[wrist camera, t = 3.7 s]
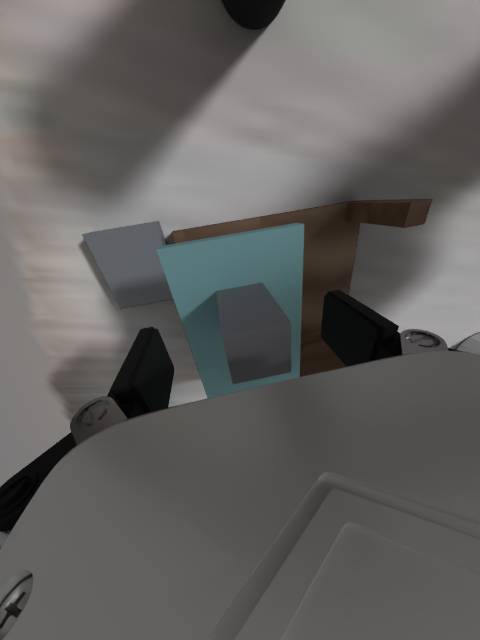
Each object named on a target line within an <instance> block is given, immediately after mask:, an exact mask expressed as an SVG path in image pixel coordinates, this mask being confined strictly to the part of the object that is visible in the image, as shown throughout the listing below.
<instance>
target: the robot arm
mask: <svg viewBox="0 0 480 640" xmlns="http://www.w3.org/2000/svg"><path fill="white" fill-rule="evenodd" d="M398 327H399V326H398V325H396V324H394V323H393V322H391V321H390V320H388V319H386V318H385V317H383V316H381V315H380V314H378V313H376V312H375V311H373V310H372V309H370V308H368V307H367V306H365V305H363V304H362V303H360V302H359V301H357V300H355V299H354V298H352V297H350V296H349V295H347V294H346V293H344V292H342V291H341V290H334V291H329V292H327V295H325V296H324V303H323V314H322V325H321V338H322V339H323V341H324V342H325V343H326V344H327V345H328V346H329V347H330V349H331V350H332V351H333V352H334V353H335V354H336V355H337V356H338V358H339V359H340V360H341V361H342V362H343V363H344V364H345V365H346V366H347V367H343V368H338V369H334V370H329V371H325V372H320V373H316V374H311V375H307V376H303V377H298V378H294V379H289V380H285V381H281V382H276V383H272V384H268V385H263V386H259V387H255V388H250V389H246V390H242V391H237V392H233V393H229V394H225V395H220V396H216V397H212V398H207V399H203V400H199V401H195V402H190V403H186V404H182V405H178V406H173V407H169V408H168V404H169V399H170V393H171V387H172V381H173V375H174V366H173V364H172V361H171V359H170V357H169V354H168V352H167V349H166V347H165V345H164V342H163V340H162V338H161V335H160V333H159V331H158V329H154V328H153V327H149V328H144V329H141V330H140V331H139V333H138V335H137V337H136V339H135V341H134V343H133V345H132V347H131V349H130V351H129V353H128V355H127V357H126V359H125V361H124V363H123V365H122V367H121V369H120V371H119V373H118V375H117V377H116V379H115V381H114V383H113V385H112V387H111V389H110V391H109V393H108V395H107V396H105V397H99V398H97V399H94V400H92V401H90V402H89V403H87V404H86V405H84V406H83V407H82V408H81V409H80V410H79V411H78V412H77V413H76V414H75V415H74V417H73V418H72V420H71V423H70V429H71V433H69V434H68V435H67V436H66V437H64V438H63V439H61V440H60V441H59V442H58V443H56V444H55V445H54V446H52V447H51V448H50V449H48V450H47V451H46V452H44V453H43V454H42V455H40V456H39V457H38V458H36V459H35V460H34V461H33V462H31V463H30V464H29V465H27V466H26V467H25V468H23V469H22V470H21V471H19V472H18V473H17V474H16V475H14V476H13V477H12V478H10V479H9V480H8V481H7V482H5V483H4V484H3V485H2V486H1V487H0V640H480V354H474V353H469V352H464V351H459V350H454V349H449V348H448V347H447V344H446V342H445V341H444V339H442V338H441V337H440V336H438V335H436V334H434V333H431V332H428V331H424V330H419V329H408V330H404V331H403V332H401V334H400V333H399V332H397V330H398Z"/></svg>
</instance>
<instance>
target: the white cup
mask: <svg viewBox="0 0 480 640" xmlns="http://www.w3.org/2000/svg"><path fill="white" fill-rule="evenodd" d="M456 350H459V351H464V352H469V353H474V354H480V332H479V333H477V334H475V335H473V336H471V337H469V338H468V339H466V340H465V341H464V342H462V343H461V344H460V345H459V347H458V348H457V349H456Z"/></svg>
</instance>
